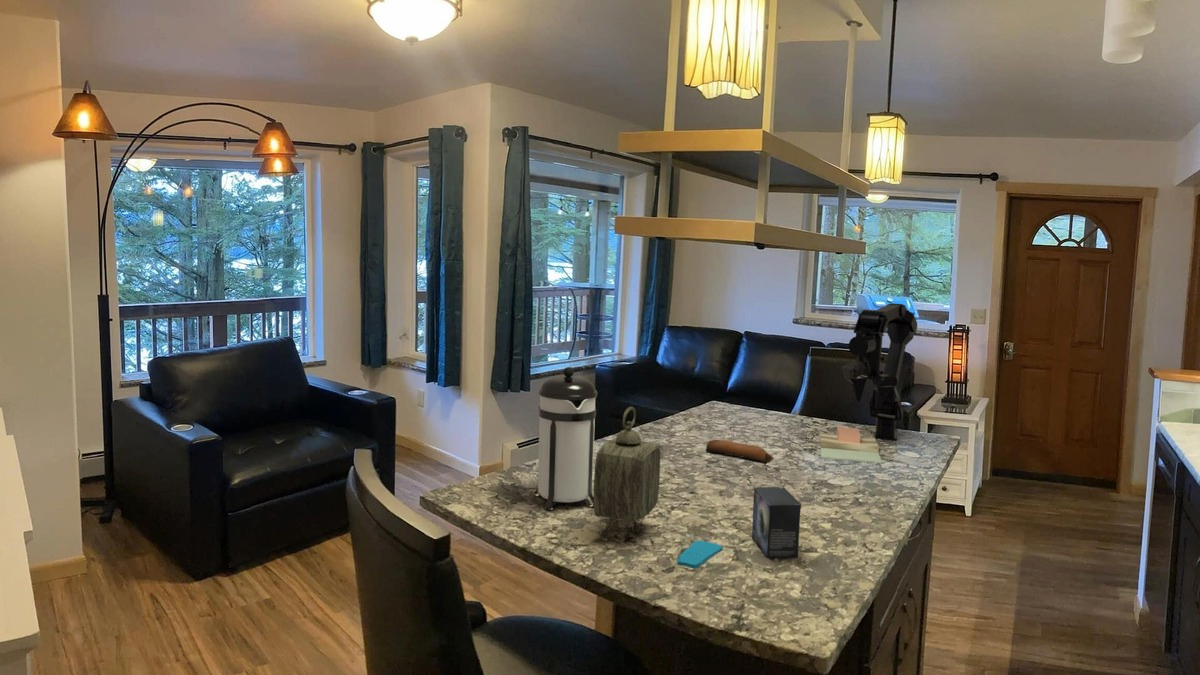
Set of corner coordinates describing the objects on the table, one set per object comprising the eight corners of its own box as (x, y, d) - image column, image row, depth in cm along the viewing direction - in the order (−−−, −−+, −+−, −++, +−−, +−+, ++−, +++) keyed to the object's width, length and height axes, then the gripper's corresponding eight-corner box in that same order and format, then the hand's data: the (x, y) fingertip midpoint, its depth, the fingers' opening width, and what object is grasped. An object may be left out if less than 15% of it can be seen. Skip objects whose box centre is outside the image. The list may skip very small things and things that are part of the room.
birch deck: (819, 439, 237) (820, 433, 237) (874, 444, 233) (874, 437, 233) (820, 448, 225) (820, 441, 225) (878, 453, 221) (878, 447, 221)
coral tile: (837, 434, 235) (837, 426, 235) (857, 436, 234) (858, 428, 233) (838, 441, 226) (838, 433, 226) (859, 443, 225) (860, 435, 225)
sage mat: (820, 449, 225) (820, 447, 225) (878, 454, 221) (878, 453, 221) (821, 457, 215) (821, 456, 215) (881, 463, 211) (881, 461, 211)
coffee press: (613, 497, 174) (617, 366, 170) (575, 517, 160) (579, 374, 157) (549, 484, 182) (553, 358, 179) (508, 501, 169) (511, 366, 165)
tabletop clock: (617, 516, 162) (622, 399, 159) (659, 523, 158) (664, 403, 156) (591, 539, 148) (596, 411, 145) (636, 547, 145) (641, 417, 142)
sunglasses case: (777, 457, 213) (774, 439, 210) (768, 474, 209) (764, 456, 205) (718, 446, 224) (714, 429, 220) (708, 463, 219) (703, 445, 216)
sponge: (666, 558, 139) (695, 563, 136) (695, 539, 149) (723, 542, 146) (666, 567, 139) (696, 571, 136) (696, 547, 149) (724, 550, 146)
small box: (749, 537, 152) (752, 485, 151) (781, 537, 153) (784, 486, 152) (765, 558, 142) (768, 503, 141) (799, 558, 142) (803, 503, 141)
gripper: (828, 348, 233) (825, 399, 235) (867, 358, 215) (864, 413, 217) (860, 348, 236) (857, 397, 238) (901, 357, 219) (897, 411, 221)
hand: (867, 404), depth 229 cm, fingers open, 9 cm apart
